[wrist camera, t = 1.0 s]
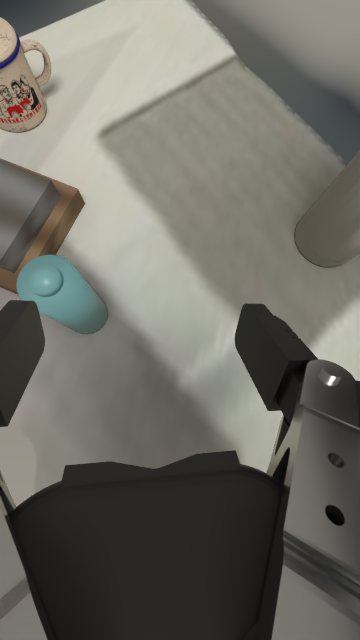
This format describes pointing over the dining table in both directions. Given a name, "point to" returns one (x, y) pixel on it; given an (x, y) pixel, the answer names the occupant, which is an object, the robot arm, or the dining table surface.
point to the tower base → (49, 229)
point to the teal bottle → (62, 294)
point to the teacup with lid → (20, 82)
